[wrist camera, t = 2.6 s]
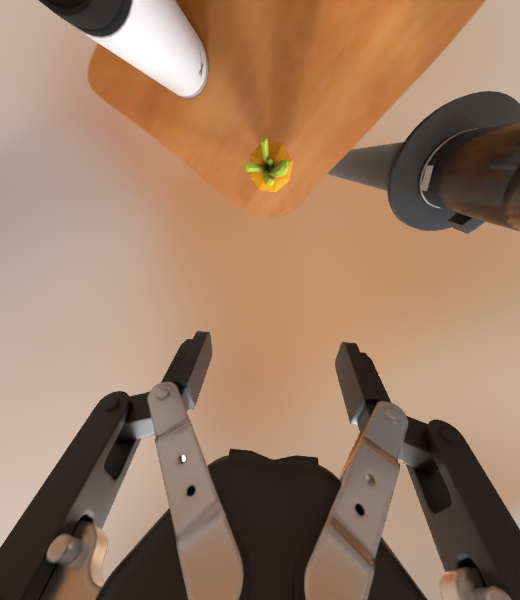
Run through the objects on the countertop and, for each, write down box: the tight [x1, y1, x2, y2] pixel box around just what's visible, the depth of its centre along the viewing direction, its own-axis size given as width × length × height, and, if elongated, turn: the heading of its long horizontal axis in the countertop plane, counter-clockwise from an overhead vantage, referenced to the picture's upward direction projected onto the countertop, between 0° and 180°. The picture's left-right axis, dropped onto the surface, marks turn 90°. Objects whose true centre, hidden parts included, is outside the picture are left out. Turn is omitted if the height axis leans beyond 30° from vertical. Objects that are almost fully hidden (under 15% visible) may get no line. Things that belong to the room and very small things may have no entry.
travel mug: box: [39, 0, 208, 98], centre depth 18 cm, size 6×7×20 cm
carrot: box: [244, 137, 293, 192], centre depth 26 cm, size 5×5×15 cm
